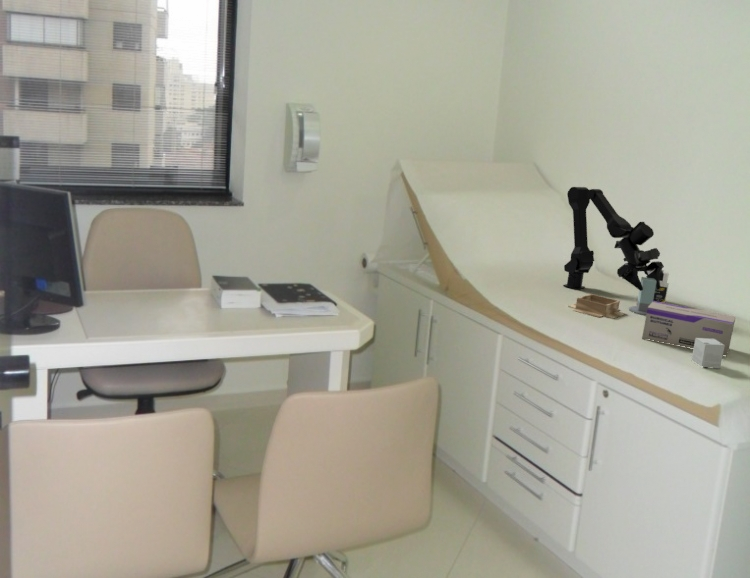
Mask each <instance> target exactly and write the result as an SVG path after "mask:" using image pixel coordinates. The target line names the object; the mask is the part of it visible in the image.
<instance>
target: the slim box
mask: <svg viewBox="0 0 750 578" xmlns="http://www.w3.org/2000/svg"><path fill="white" fill-rule="evenodd" d="M640 278H641V279H640V282H641V284H642V287H643V290H642V291H640V290H639V289H638V296H637V302H636V308H637V310H638V311H643V312H647V308H648V306H649V305H650V304H651V303H652V302H653V298H654V293H655V287H656V282H657V281H656V280H655V279H654V278H647V277H646V276H645V277H643V276H641V277H640Z"/></svg>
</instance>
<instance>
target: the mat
mask: <svg viewBox="0 0 750 578" xmlns="http://www.w3.org/2000/svg"><path fill="white" fill-rule="evenodd" d="M636 306H637V305H636ZM636 306H635V305H634V306H633V305H632V306H629V308H628V310H629V311H630V312H632V313H633V312H634V314H637V315H641V316H646V314H647V312H643V311H638V310H637V308H636Z"/></svg>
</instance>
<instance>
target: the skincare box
mask: <svg viewBox="0 0 750 578" xmlns="http://www.w3.org/2000/svg"><path fill="white" fill-rule="evenodd" d="M724 346H725V345H724V344H722V343H720V342H719V341H717V340H715V339H707V338H695V344H694V349H693V350H692V355H691V358H690V359H691V360H693V361H694V362H696V363H697V364H699V365H700V366H703V367H714V368H713V369H721V366H722V361H723V357H724V356H723V351H724ZM691 360H690V361H691Z"/></svg>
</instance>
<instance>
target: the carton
mask: <svg viewBox="0 0 750 578" xmlns="http://www.w3.org/2000/svg"><path fill="white" fill-rule="evenodd" d="M568 307H569V308H571V309H572V311H573V312H576V311H577V313H581V314H585V315H587V314H588V315H587V316H591V317H596V318H598V319H599V318H603V317H604V318H605V317H606V318H610V319H612V320H613V319H616V318H618V317H622V316H624V314H625V315H626V313H625V312H622V311H621V309H620V308H619V307H620V300H616V299H613V298H610V297H609V298H608V297H605V296H600V295H596V294H593V293H590V294H586V295H582V296H580V297H577V298H576V303H573V304H570V305H568ZM619 310H620V311H619ZM602 316H603V317H602Z"/></svg>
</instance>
